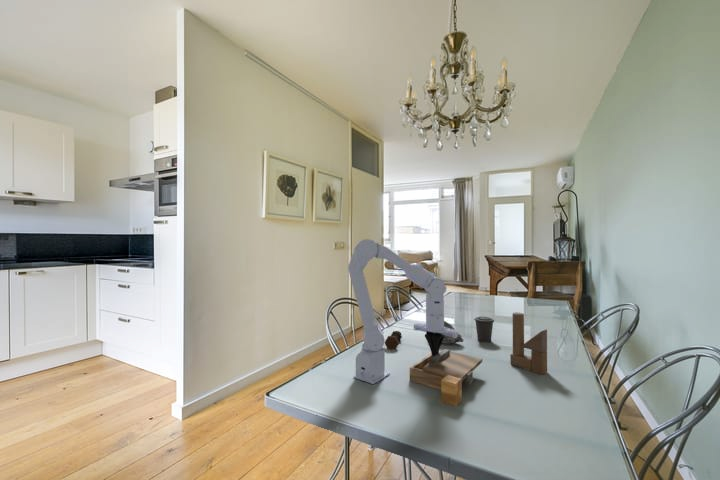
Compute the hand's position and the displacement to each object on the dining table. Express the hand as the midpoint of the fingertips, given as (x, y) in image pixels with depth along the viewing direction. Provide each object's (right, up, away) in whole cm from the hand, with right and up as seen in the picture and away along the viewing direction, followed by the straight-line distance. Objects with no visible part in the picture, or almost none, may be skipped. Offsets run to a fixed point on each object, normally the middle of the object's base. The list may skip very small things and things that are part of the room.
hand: (435, 355), depth 101 cm
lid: (+5, -4, -4) cm, 8 cm away
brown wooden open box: (+1, -6, -1) cm, 6 cm away
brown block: (0, -6, -17) cm, 18 cm away
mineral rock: (+11, -6, +31) cm, 33 cm away
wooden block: (+33, -6, +4) cm, 34 cm away
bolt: (-10, -7, +31) cm, 33 cm away
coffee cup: (+30, -6, +34) cm, 45 cm away
